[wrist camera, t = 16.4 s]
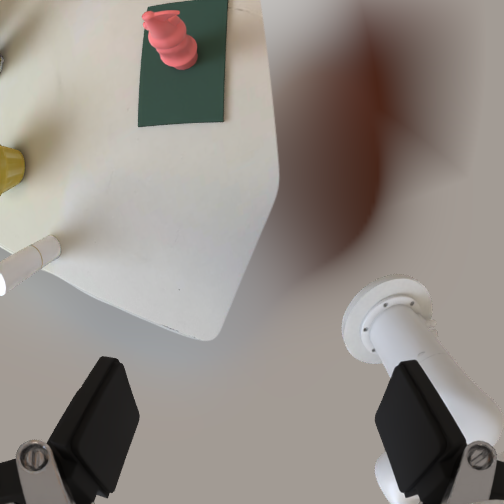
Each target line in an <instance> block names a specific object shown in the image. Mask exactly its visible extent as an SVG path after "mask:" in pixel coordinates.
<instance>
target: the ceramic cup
mask: <svg viewBox="0 0 504 504" xmlns="http://www.w3.org/2000/svg"><path fill="white" fill-rule="evenodd" d="M3 62H4V58H3V57H2V55H1V54H0V73H1V71H2V66H3Z"/></svg>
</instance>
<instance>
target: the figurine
mask: <svg viewBox="0 0 504 504" xmlns="http://www.w3.org/2000/svg"><path fill="white" fill-rule="evenodd" d="M179 14H180V11H178V10H166V11H159V12H152V11H147V12H145V13H144V14H143V15H142V18H143V20H144V21H145V22H144V23H143V27H144V28H145V29H146V30H148V31H149V33H148V39H149V42H150V44H151V45H152V46H153V47H154V48H156V50H157V52H158V53H159V54H160V58H161V60H162V61H163V62H164V63H165V64H166V65H168V66H172V67H174V68H176V69H179V70H185V69H188V68H190V67H192V66H193V65H194V64H195V63H196V61H197V58H198V54H197V43H196V41H195V39H194V38H193V37H191V36H189V35H187V34H186V25H185V23H184V22H183V21H182V20H181V19H180V18H179V17H178V16H177V15H179Z"/></svg>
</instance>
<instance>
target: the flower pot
mask: <svg viewBox="0 0 504 504" xmlns="http://www.w3.org/2000/svg"><path fill="white" fill-rule="evenodd" d="M24 171H25V161H24V157H23V155H22V153H21V152H20V151H19V150H16V149H12V148H8V147H4V146H1V145H0V196H1V194H2V193H4V192H5V191H7V190H9V189H10V188H12V187H14V186H16V185H17V184H19V183H20V181H21V180H22V178H23V176H24Z"/></svg>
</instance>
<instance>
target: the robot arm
mask: <svg viewBox="0 0 504 504" xmlns="http://www.w3.org/2000/svg"><path fill="white" fill-rule="evenodd" d="M435 326H436V321H435V320H428V321H426V320H425V319H424V318H423V317H422V310H421V307H420V305H419V304H418V302H417V301H416V300H415V299H413V298H412V297H410V296H408V295H404V294H396V295H391V296H388V297H386V298H384V299H382V300H380V301H379V302H377V303H376V304H375V305H374V306H373V307H372V308H371V309H370V310H369V311H368V312H367V314H366V315H365V317H364V319H363V321H362V323H361V327H360V339H361V342H362V344H363V346H364V347H365V349H366V350H368V351H369V352H370V353H373V354H376V355H379V357H380V359H381V361H382V363H383V365H384V367H385V368H386V370H387V372H388V374H389V376H390V378H391V379H390V381H389V384H388V386H387V389H386V391H385V394H384V396H383V399H382V401H381V403H380V406H379V408H378V410H377V413H376V415H375V423H376V426H377V429H378V431H379V434H380V437H381V439H382V442H383V445H384V448H385V452H384V453H383V454H382V455H381V456H380V457H379V458H378V460H377V461H376V464H375V476H376V479H377V482H378V484H379V486H380V488H381V490H382V492H383V493H384V495H385V497H386V498H387V500H388V501H389V503H390V504H504V452H502V453H499V454H496V451H495V449H494V448H493V446H494V445H495V444H496V442H497V441H498V439H499V438H500V436H501V434H502V432H503V428H504V416H503V413H502V411H501V409H500V408H499V406H498V405H497V404H496V403H495V402H494V400H493V399H492V398H490V397H489V396H488V395H487V394H486V393H485V392H484V391H483V390H482V389H481V388H479V387H478V386H477V385H476V384H475V383H474V382H473V381H472V380H471V379H470V378H469V377H468V375H467V374H466V373H465V372H464V371H463V370H462V368H461V367H460V366H459V365H458V363H457V362H456V361H455V360H454V358H453V357H452V356H451V355H450V354H449V352H448V351H447V350H446V349H445V347H444V346H443V345H442V344H441V342H440V341H439V340H438V339H437V336H438V332H437V330H436V329H432V330H430V329H429V328H430V327H435ZM428 327H429V328H428ZM138 422H139V411H138V409H137V406H136V403H135V400H134V397H133V394H132V391H131V388H130V385H129V382H128V378H127V375H126V372H125V369H124V366H123V364H122V363H120V362H119V360H118V359H116V358H111V357H104V356H102V357H100V359H99V360H98V362H97V363H96V365H95V366H94V368H93V369H92V371H91V372H90V374H89V376H88V377H87V379H86V380H85V382H84V384H83V385H82V387H81V388H80V389H79V390H78V391H77V393H76V395H75V396H74V397H73V399H72V401H71V402H70V404H69V406H68V407H67V409H66V411H65V413H64V414H63V416H62V418H61V419H60V421H59V423H58V424H57V426H56V428H55V429H54V431H53V433H52V435H51V436H50V438H49V440H48V442H47V444H46V443H45V442H42V441H40V440H29V441H27V442H25V443H23V444H22V445H21V446H20V447H19V449H18V450H17V454H16V459H13V460H10V461H6V462H2V463H0V504H95V503H94V500H95V497H96V495H99V496H102V497H105V498H108V496H109V493H113V492H114V490H115V488H116V485H117V482H118V479H119V476H120V473H121V470H122V467H123V464H124V461H125V458H126V456H127V453H128V450H129V447H130V444H131V442H132V439H133V436H134V433H135V431H136V428H137V425H138Z"/></svg>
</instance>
